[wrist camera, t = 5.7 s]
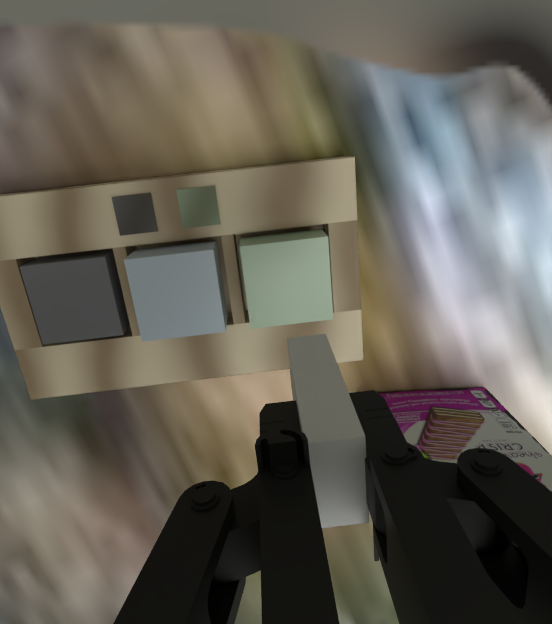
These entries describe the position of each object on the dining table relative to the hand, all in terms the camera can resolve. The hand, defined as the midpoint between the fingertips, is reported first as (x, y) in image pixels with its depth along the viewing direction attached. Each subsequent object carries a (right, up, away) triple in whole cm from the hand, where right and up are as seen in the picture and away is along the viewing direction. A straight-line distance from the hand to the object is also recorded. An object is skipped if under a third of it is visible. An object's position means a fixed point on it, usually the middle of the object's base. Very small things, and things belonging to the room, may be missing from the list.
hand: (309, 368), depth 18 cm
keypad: (-8, +5, +16) cm, 18 cm away
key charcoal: (-15, +4, +15) cm, 21 cm away
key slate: (-8, +4, +13) cm, 16 cm away
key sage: (-1, +5, +14) cm, 15 cm away
